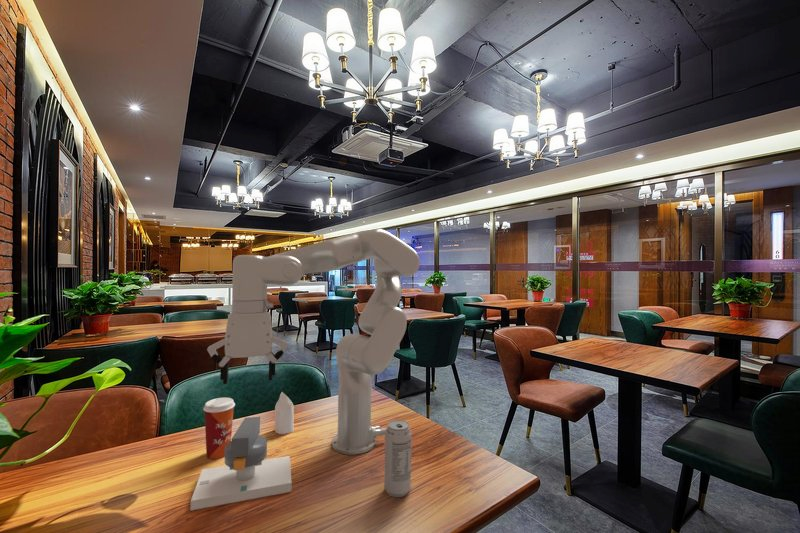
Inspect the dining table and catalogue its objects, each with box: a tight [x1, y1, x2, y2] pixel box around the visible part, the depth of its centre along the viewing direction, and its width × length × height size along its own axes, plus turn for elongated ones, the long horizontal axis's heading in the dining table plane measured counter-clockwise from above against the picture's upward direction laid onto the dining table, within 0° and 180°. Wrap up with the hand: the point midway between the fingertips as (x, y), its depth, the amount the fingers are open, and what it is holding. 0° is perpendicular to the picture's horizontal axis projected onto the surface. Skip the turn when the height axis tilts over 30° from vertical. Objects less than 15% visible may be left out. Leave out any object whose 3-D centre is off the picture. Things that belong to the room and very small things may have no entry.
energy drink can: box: [383, 419, 412, 498], centre depth 80 cm, size 6×6×15 cm
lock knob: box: [224, 416, 268, 471], centre depth 81 cm, size 12×9×7 cm
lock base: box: [189, 455, 293, 511], centre depth 81 cm, size 20×12×6 cm, turn 110°
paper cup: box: [202, 397, 236, 460], centre depth 94 cm, size 8×8×14 cm
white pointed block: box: [274, 391, 295, 435], centre depth 109 cm, size 6×12×6 cm
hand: (248, 380), depth 81 cm, fingers open, 9 cm apart
